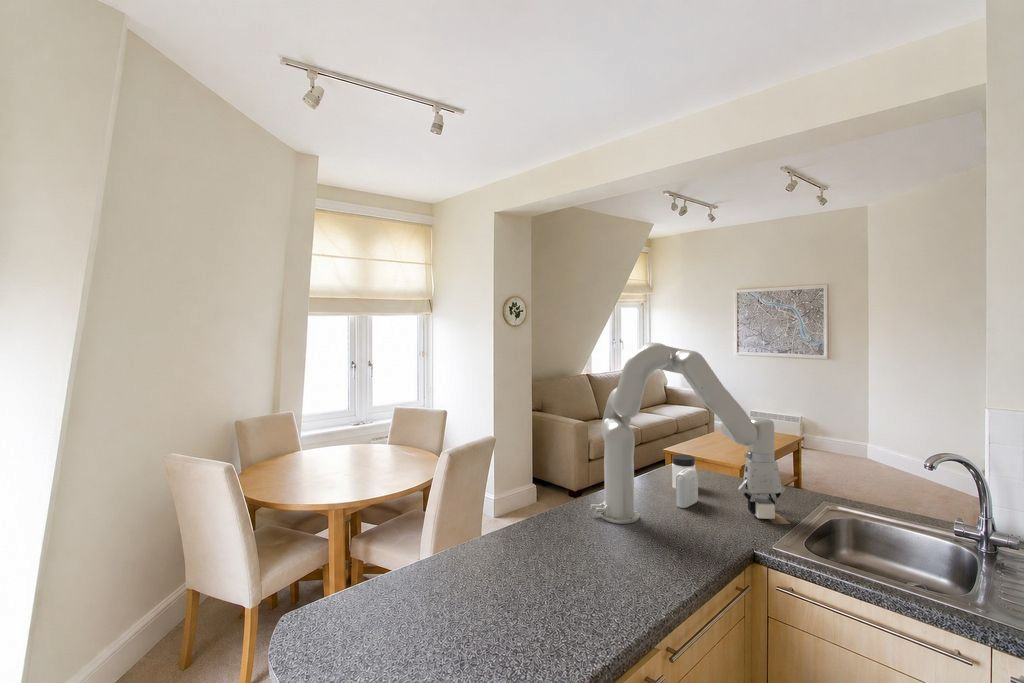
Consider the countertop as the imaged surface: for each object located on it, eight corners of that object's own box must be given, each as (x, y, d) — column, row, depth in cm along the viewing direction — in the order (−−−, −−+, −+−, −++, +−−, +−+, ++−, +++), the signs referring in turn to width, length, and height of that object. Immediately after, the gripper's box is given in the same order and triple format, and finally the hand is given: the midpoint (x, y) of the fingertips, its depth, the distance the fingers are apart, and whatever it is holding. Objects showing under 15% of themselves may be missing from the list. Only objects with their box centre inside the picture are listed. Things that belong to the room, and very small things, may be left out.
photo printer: (688, 498, 175) (687, 464, 175) (699, 501, 172) (699, 467, 172) (674, 506, 168) (673, 471, 168) (685, 509, 165) (685, 473, 165)
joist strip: (775, 524, 151) (774, 523, 151) (749, 505, 167) (749, 505, 167) (790, 524, 151) (790, 523, 151) (764, 505, 167) (764, 504, 167)
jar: (674, 483, 193) (674, 453, 193) (696, 485, 189) (696, 455, 189) (670, 489, 185) (670, 458, 185) (693, 492, 181) (693, 461, 181)
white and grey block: (758, 518, 153) (758, 502, 153) (748, 508, 161) (748, 494, 161) (774, 518, 153) (774, 503, 153) (764, 509, 161) (764, 494, 161)
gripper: (740, 460, 153) (740, 517, 153) (794, 459, 153) (794, 516, 153) (729, 454, 160) (729, 508, 161) (781, 453, 160) (781, 507, 161)
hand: (761, 511), depth 157 cm, fingers closed on white and grey block, 5 cm apart
